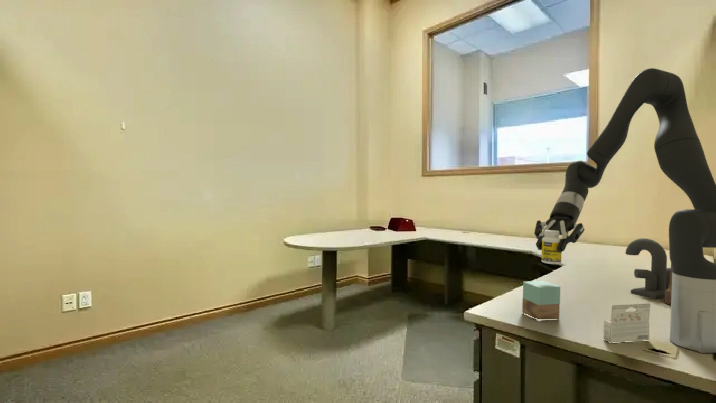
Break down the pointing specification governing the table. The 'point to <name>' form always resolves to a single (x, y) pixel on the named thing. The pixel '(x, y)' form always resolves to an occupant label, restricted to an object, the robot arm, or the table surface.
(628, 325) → the ink cartridge box
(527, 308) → the tower bottom block
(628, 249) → the faucet
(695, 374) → the table surface
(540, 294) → the tower top block
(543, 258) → the supplement bottle
